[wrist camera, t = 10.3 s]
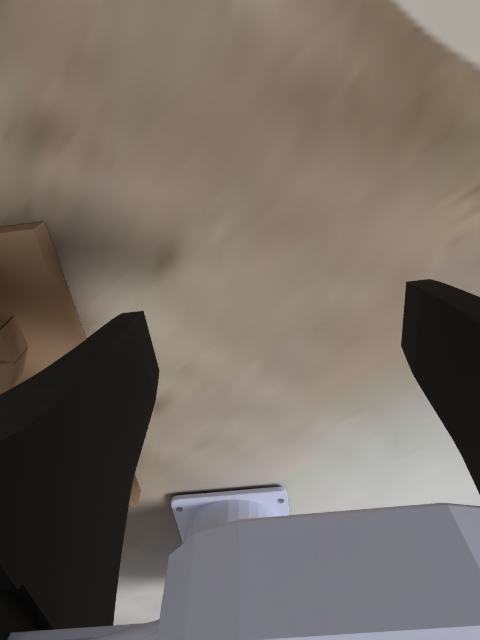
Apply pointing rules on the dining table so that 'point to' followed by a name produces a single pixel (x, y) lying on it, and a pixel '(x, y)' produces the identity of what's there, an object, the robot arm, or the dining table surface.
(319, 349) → the dining table surface
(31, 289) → the peg stand
